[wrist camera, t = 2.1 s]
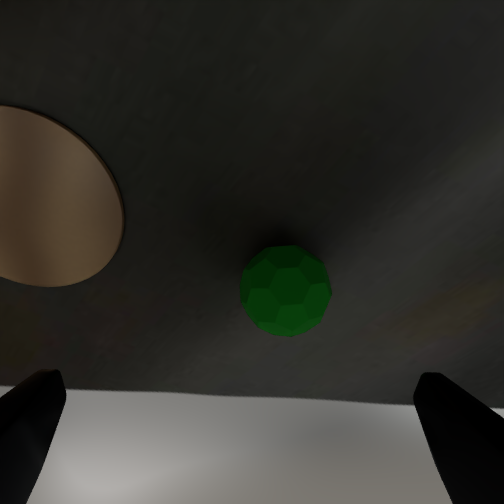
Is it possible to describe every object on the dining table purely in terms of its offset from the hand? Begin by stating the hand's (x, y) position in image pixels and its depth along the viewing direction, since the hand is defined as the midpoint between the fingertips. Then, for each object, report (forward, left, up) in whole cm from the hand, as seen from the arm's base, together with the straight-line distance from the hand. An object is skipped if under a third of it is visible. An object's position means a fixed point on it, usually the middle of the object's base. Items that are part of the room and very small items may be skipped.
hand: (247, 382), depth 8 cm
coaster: (+11, 0, -12) cm, 16 cm away
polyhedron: (-3, +3, -12) cm, 12 cm away
